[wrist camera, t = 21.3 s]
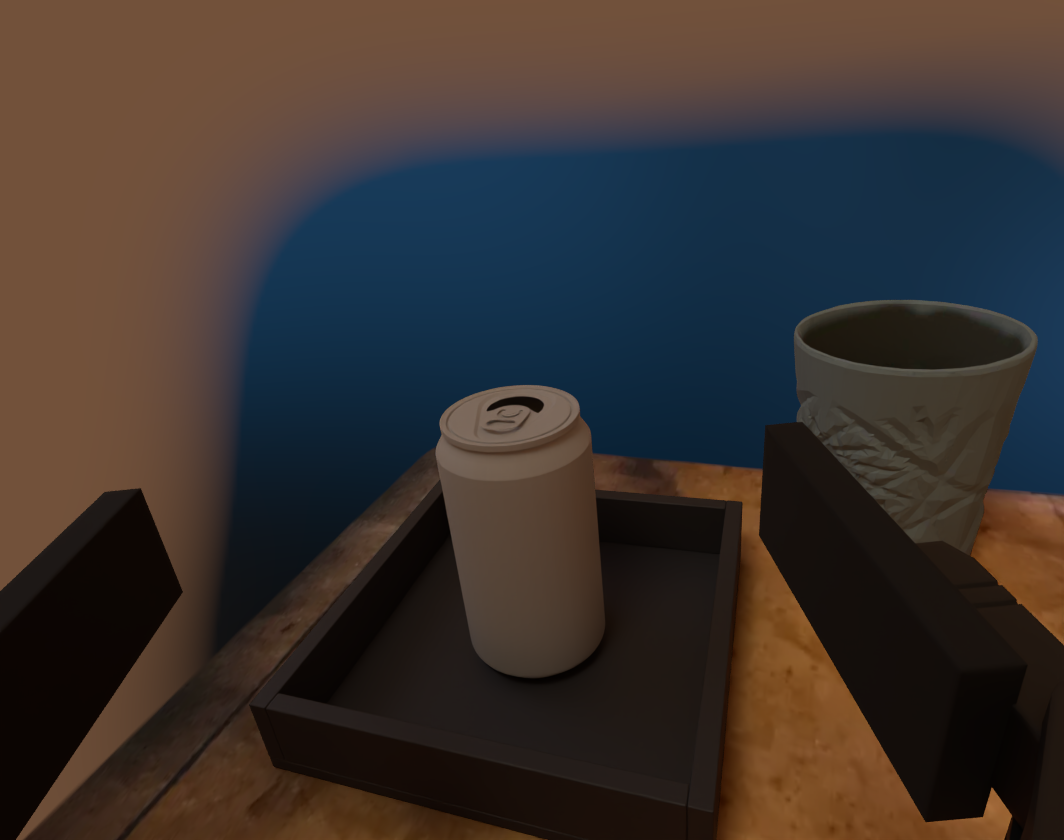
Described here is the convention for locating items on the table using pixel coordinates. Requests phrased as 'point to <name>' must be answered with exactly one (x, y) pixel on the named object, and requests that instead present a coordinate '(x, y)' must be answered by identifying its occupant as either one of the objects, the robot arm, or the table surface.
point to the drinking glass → (915, 404)
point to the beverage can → (524, 527)
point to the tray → (528, 685)
